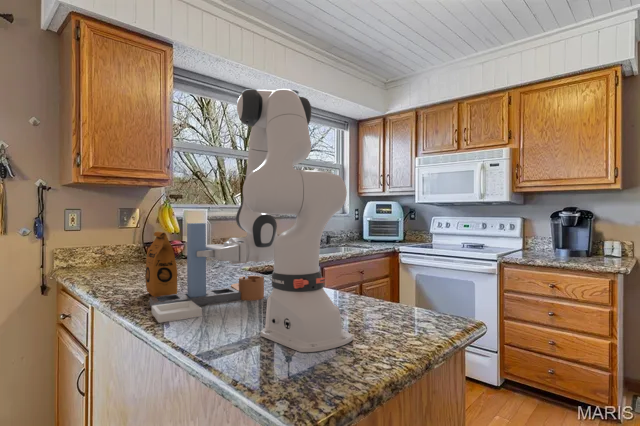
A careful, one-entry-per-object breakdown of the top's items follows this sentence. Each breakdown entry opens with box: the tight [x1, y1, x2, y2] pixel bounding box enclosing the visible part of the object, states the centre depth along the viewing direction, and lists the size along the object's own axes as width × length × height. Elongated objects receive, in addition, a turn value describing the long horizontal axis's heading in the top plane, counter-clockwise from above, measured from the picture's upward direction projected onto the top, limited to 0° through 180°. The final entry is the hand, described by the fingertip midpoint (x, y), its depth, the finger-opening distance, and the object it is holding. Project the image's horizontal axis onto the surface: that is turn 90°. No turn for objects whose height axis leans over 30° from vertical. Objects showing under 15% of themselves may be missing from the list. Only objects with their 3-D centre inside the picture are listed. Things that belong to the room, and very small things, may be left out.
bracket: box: [230, 275, 265, 302], centre depth 127 cm, size 18×8×7 cm, turn 29°
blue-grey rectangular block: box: [186, 222, 207, 297], centre depth 115 cm, size 5×5×23 cm
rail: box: [149, 287, 241, 309], centre depth 116 cm, size 9×26×2 cm, turn 124°
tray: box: [151, 301, 203, 324], centre depth 102 cm, size 11×11×2 cm
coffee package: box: [144, 230, 179, 297], centre depth 127 cm, size 10×12×22 cm
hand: (193, 253), depth 115 cm, fingers closed on blue-grey rectangular block, 5 cm apart
